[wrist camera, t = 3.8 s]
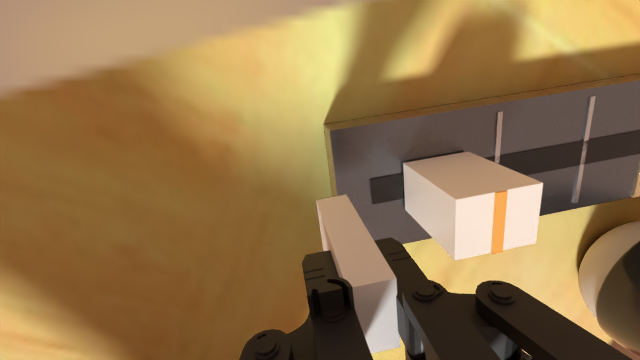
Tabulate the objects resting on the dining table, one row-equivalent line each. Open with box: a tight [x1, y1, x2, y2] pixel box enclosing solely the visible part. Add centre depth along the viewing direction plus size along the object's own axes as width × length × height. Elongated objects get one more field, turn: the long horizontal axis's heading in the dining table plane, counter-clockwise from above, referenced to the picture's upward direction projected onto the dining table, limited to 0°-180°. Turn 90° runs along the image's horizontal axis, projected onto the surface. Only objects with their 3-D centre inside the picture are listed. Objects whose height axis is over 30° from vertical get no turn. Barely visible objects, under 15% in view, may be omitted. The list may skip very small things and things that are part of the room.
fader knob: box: [403, 152, 543, 260], centre depth 17 cm, size 4×3×6 cm
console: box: [324, 74, 640, 244], centre depth 21 cm, size 28×8×3 cm, turn 97°
